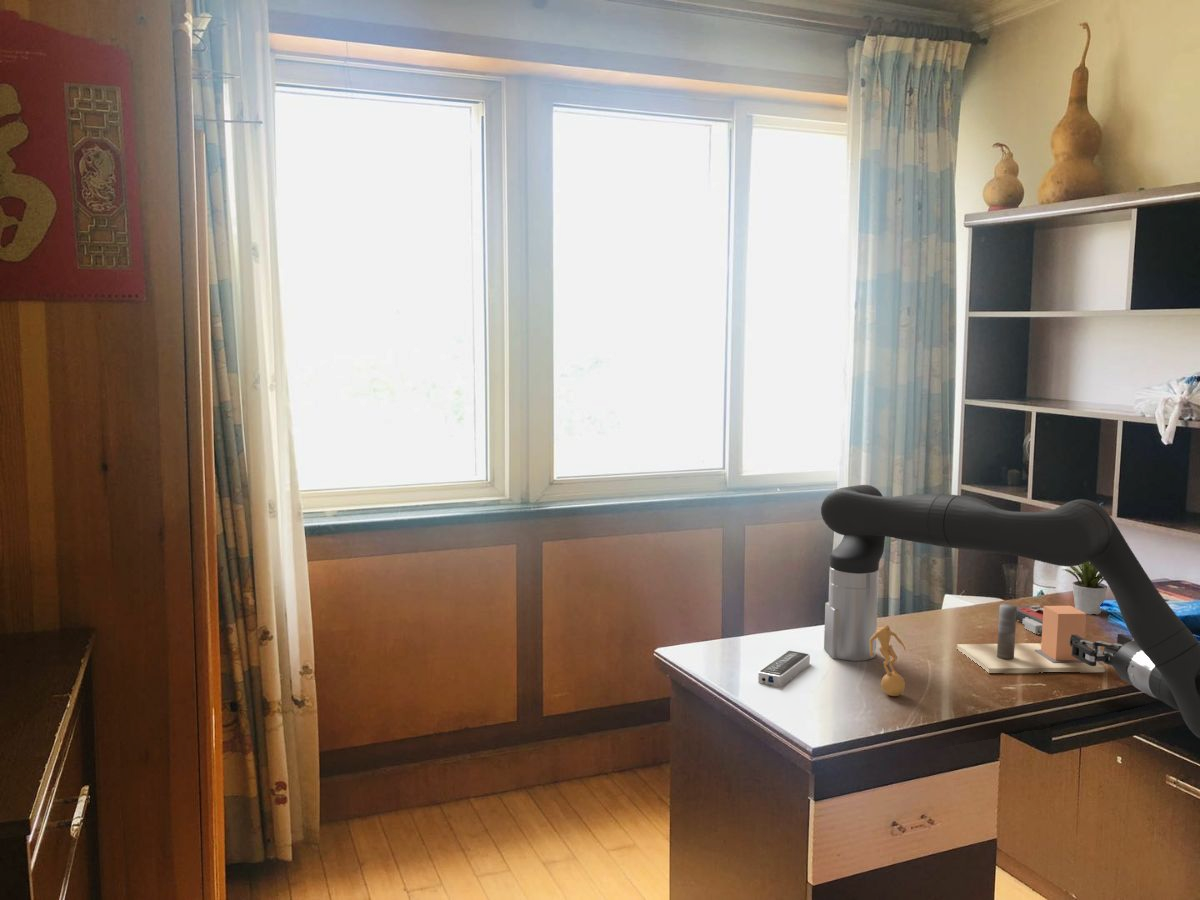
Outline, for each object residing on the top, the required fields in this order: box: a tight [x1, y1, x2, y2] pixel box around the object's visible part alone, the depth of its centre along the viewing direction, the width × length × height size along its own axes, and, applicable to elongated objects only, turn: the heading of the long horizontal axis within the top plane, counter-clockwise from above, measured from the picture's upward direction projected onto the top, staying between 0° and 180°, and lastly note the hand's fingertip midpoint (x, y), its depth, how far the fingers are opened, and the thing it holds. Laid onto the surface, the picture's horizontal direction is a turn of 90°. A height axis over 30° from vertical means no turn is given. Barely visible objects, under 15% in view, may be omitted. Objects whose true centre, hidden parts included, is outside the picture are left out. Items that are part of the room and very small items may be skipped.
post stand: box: [956, 603, 1106, 674], centre depth 181 cm, size 22×14×11 cm, turn 93°
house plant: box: [1062, 561, 1108, 615], centre depth 213 cm, size 14×14×16 cm
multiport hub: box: [757, 650, 811, 687], centre depth 175 cm, size 4×14×2 cm, turn 146°
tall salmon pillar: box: [1040, 605, 1087, 660], centre depth 181 cm, size 5×5×9 cm
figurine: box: [869, 625, 906, 697], centre depth 164 cm, size 8×6×12 cm
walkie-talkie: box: [1016, 605, 1044, 635], centre depth 201 cm, size 9×4×20 cm
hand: (1095, 639), depth 170 cm, fingers open, 8 cm apart
